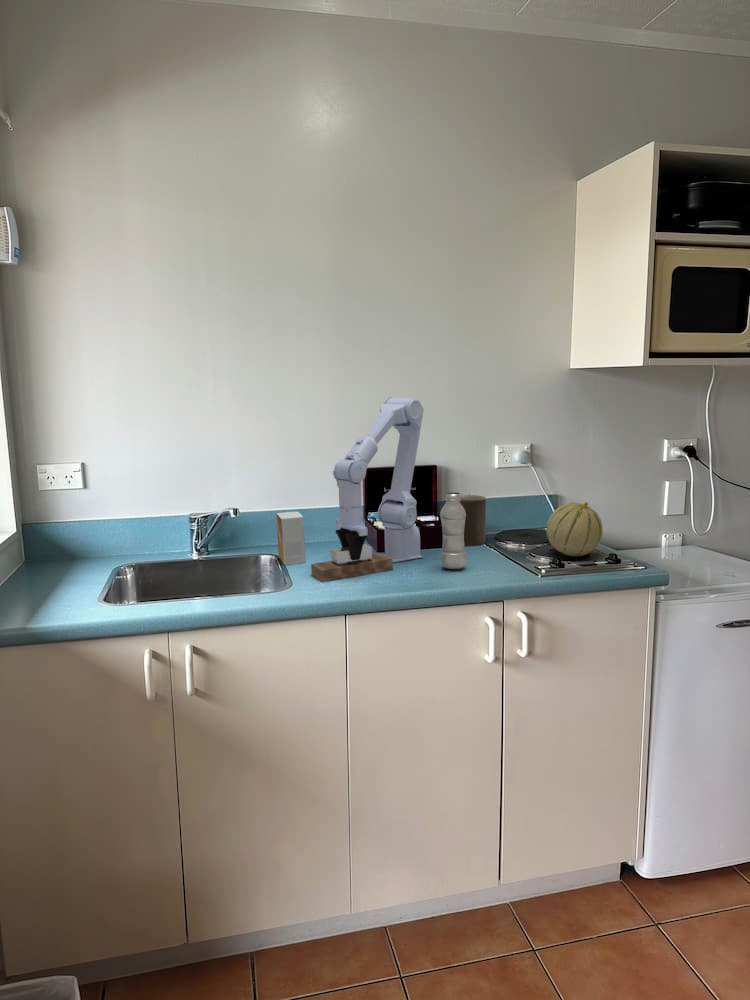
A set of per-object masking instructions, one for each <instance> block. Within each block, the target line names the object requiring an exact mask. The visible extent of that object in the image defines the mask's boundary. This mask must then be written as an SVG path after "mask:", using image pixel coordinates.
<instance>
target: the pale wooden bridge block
mask: <svg viewBox="0 0 750 1000" xmlns="http://www.w3.org/2000/svg"><path fill="white" fill-rule="evenodd" d="M372 554H373V547H372V546H370V545H369V544H366V543H364V544H363V547H362V552H361V556H360V559H359V560H352V559H351V556H350V548H349V547H342V546H341V547H337V548H331V549H330V561H333V562H335V564H336V565H338V566H344V565H347V562H351V561H358V562H360V563H362V562H368V559H369V558H372Z"/></svg>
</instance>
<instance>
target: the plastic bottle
mask: <svg viewBox="0 0 750 1000" xmlns="http://www.w3.org/2000/svg"><path fill="white" fill-rule="evenodd" d="M460 495H461V492H458V491H457V492H456V491H451V492H449V491H448V492H445V501H446V502H445V504H444V505H443V506H442V508H441V509H440V515H439V517H440V522H441V527H442V528H441V530H442V549H441V554H440V562H441V565H442V567H443V568H444V569H446V570H460V569H464V568H465V566H466V564H467V553H466V549H465V547H466V546H465V545H464V525H465V517H466V512H465V509H464V508H463V506H462V505H461V504H460V500H461V498H460Z"/></svg>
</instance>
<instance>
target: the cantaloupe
mask: <svg viewBox="0 0 750 1000" xmlns="http://www.w3.org/2000/svg"><path fill="white" fill-rule="evenodd" d="M588 505H589V503H588V502H584V503H580V502H579V503H578V502H568V503H565V504H563V505H561V506H558V508H556V509H555V510H554V511H553V512H552V513H551V514H550V516H549V518H548V520H547V524H546V530H545V531H546V532H545V533H546V537H547V539H548V541H549V543H550V545H551V546H552V547H553V548H554V549H555V550H556V551H558V552H560V553H562V554H563V555H565V556H569V557H583V556H586V555H588V554H590V553H592V552H593V551H594V550H595V549H596V548H597V547H598V545H599V544H600V543H601V541H602V536H603V523H602V520H601V517H600V516H599V514H598V513H597V511H595V509H593V508H592V507H590V506H588Z"/></svg>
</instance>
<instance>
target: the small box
mask: <svg viewBox="0 0 750 1000" xmlns="http://www.w3.org/2000/svg"><path fill="white" fill-rule="evenodd" d="M304 520H305V518H304V516H303V515H302V513H301V512H299V511H286V512H277V513H276V525H277V526H276V530H277V546H278V547H277V549H278V550H277V551H278V558H279V559H280V561H281V563H282V564H283V565H284V566H286V565H288V566H289V565H297V564H304V563H306V562H307V560H306V542H305V541H306V539H305V537H306V536H305V521H304Z"/></svg>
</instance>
